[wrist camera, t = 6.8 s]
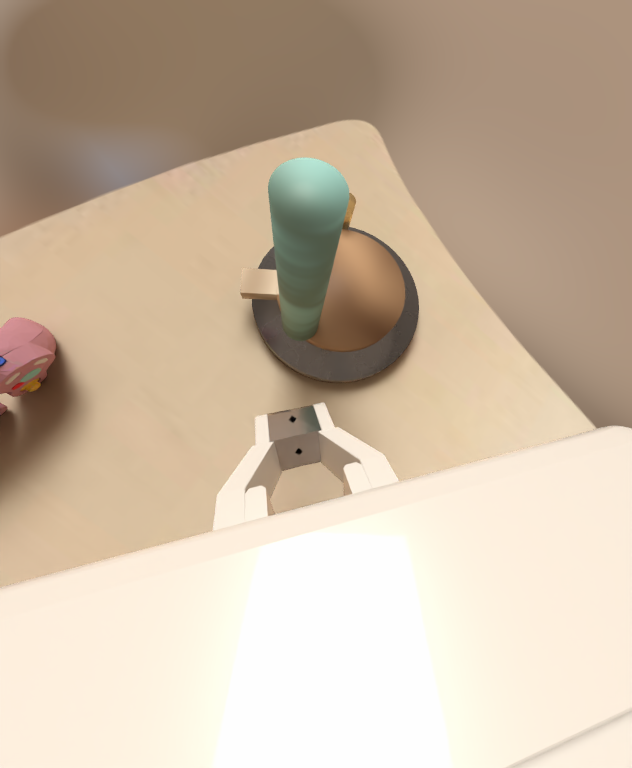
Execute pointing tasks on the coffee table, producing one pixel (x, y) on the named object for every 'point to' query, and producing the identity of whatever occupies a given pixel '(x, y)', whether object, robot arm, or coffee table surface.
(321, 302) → the teal arcade joystick
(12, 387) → the video game controller
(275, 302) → the base plate
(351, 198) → the gold knob
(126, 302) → the coffee table surface
